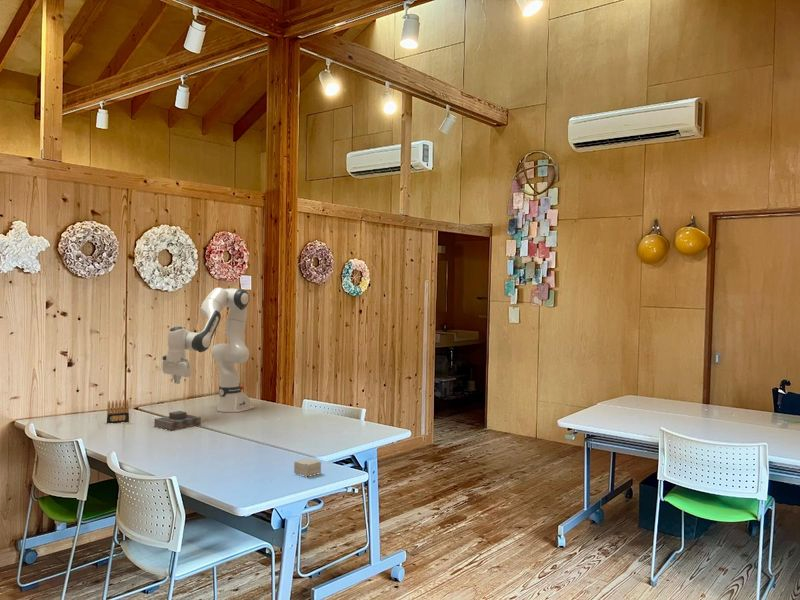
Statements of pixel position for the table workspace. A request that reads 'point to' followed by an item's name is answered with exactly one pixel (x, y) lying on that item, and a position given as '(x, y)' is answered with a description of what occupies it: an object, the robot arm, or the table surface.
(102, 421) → the table surface
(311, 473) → the small box
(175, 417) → the plug
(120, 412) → the ammunition clip
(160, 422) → the socket board
